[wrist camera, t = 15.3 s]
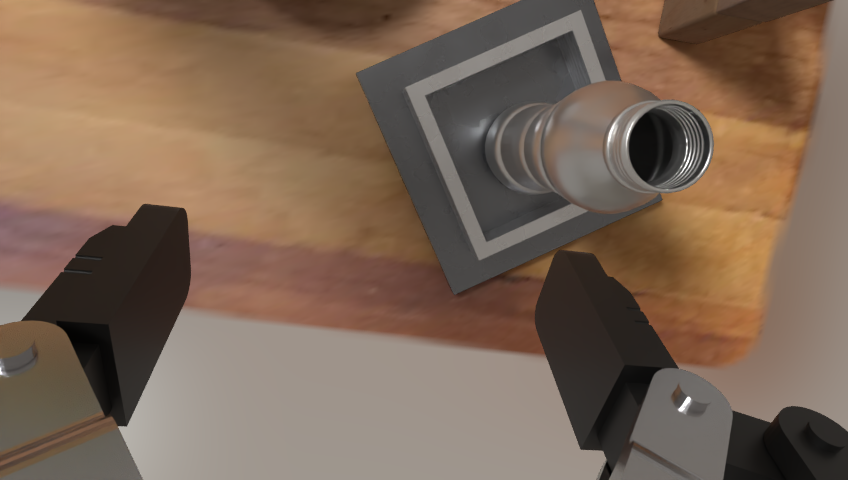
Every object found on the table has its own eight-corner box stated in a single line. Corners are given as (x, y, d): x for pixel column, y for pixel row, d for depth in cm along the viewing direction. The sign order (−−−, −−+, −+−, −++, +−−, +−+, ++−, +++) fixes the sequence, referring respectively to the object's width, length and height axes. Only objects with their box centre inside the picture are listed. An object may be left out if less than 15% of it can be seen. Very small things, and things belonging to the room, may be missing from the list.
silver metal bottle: (504, 87, 40) (640, 25, 20) (580, 131, 41) (780, 113, 21) (463, 166, 40) (555, 180, 21) (539, 207, 41) (696, 258, 22)
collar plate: (356, 75, 39) (355, 66, 35) (578, -23, 40) (601, -42, 36) (452, 291, 43) (460, 305, 39) (655, 198, 43) (684, 203, 39)
